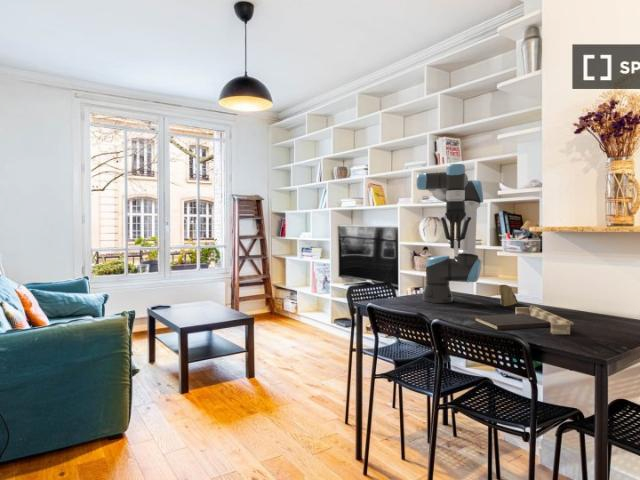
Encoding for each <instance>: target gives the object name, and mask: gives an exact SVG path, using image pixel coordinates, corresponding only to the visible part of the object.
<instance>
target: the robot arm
mask: <svg viewBox="0 0 640 480" xmlns="http://www.w3.org/2000/svg"><path fill="white" fill-rule="evenodd" d="M416 188H417V190H419V191H425V190H426V191H429V192H430V193H432V195H433V196H432V197H433V198H434V199H436V200H438V201H440V202H444V203H445V206H446V207H445V214H444V215H443V216H442V217H441V216H440V218H439V220H440V221H441V223H442V227H443V231H444V236H445V239H446V240H448V241H449V245H450V249H452V257H453V258H450V255H437V256H436V255H435V256H431V257H427V259H426V261H425V262H426V263H425V288H424V291H423V293H422V301H423V302H425V303H431V304H432V303H433V304H449V303H453V300H454V299H453V298H454V297H453V296H454V295H453V294H452V290H451V288H450V282H456V283H457V282H460V283H462V282H463V283H476V282H478V280H479V279H480V275H481V274H480V273H481V269H482V260H481V258H479V255H478V254H477V253H476V246H477V245H476V244H477V243H476V242H477V241H476V240H477V219H478V218H477V217H478V215H477V214H478V209H479V207H481V203H484V193H483V187H482V182H481V181H480V180H479V179H478V180H476V179H475V180H472V179H471V180H469V176H468V175H467V174H466V165H465V164H464V163H451V164H448V165H447V166H446V171H443V172H424V173H418V174H417V176H416ZM447 221H448V222H449V227H448V224H447Z"/></svg>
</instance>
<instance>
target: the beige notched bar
mask: <svg viewBox="0 0 640 480" xmlns="http://www.w3.org/2000/svg"><path fill="white" fill-rule="evenodd" d="M514 310H515V313H514V314H527V315H530V316H533V317H536V318H539V319H542V320H545V321H548V322H550V323H551V327H550V334H551V333H552V334H551V335H571V326H573V325H574V322H573V321H571V320H569V319H566V318H564V317H563V316H560V315H557V314H554V313H552V312H550V311H547V310H545V309H542V308H541V307H537V306H536V305H532V304H531V305H530V306H529V307H526V306H521V307H520V306H519V307H517V306H516V307H515V309H514Z"/></svg>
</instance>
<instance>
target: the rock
mask: <svg viewBox="0 0 640 480" xmlns="http://www.w3.org/2000/svg"><path fill="white" fill-rule="evenodd" d="M499 294H500V301H499V302H500V305H501V306H503V307H509V306H513V305H515V304H518V303H519V302H518V299H517V296H516V294H515V293H514V291H513V288H512V287H511V286H509V285H507V284H500V286H499Z"/></svg>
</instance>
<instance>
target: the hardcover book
mask: <svg viewBox="0 0 640 480" xmlns="http://www.w3.org/2000/svg"><path fill="white" fill-rule="evenodd" d="M474 318H475V321H476V322H478V323H480V324H483V325H486V326H487V327H491V328H493V329H495V330H497V331H500V330H501V331H502V330H516V329H517V330H518V329H519V330H520V329H533V328H535V329H536V327H537V328H548V327H547V326H551V323H550V322H548V321H545V320H542V319H539V318H536V317H533V316H530V315H527V314H515V313H513V314H512V313H510V314H509V313H508V314H493V315H492V314H491V315H474Z"/></svg>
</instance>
